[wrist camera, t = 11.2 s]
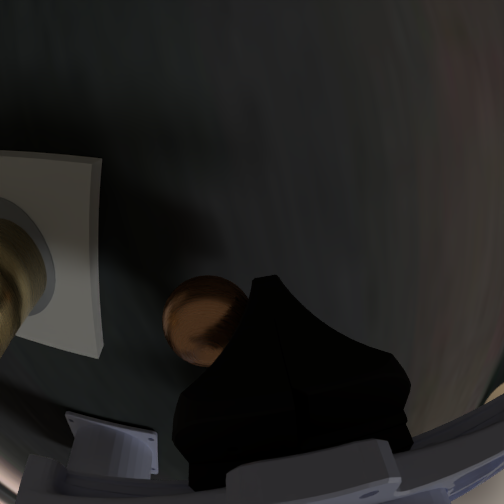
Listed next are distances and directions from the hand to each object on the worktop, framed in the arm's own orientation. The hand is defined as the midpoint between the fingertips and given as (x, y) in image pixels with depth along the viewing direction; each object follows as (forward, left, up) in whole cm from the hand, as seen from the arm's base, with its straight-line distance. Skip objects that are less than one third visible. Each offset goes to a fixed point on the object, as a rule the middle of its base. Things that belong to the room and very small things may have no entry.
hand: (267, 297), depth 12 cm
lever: (-4, 0, -1) cm, 4 cm away
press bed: (-2, +15, -3) cm, 15 cm away
